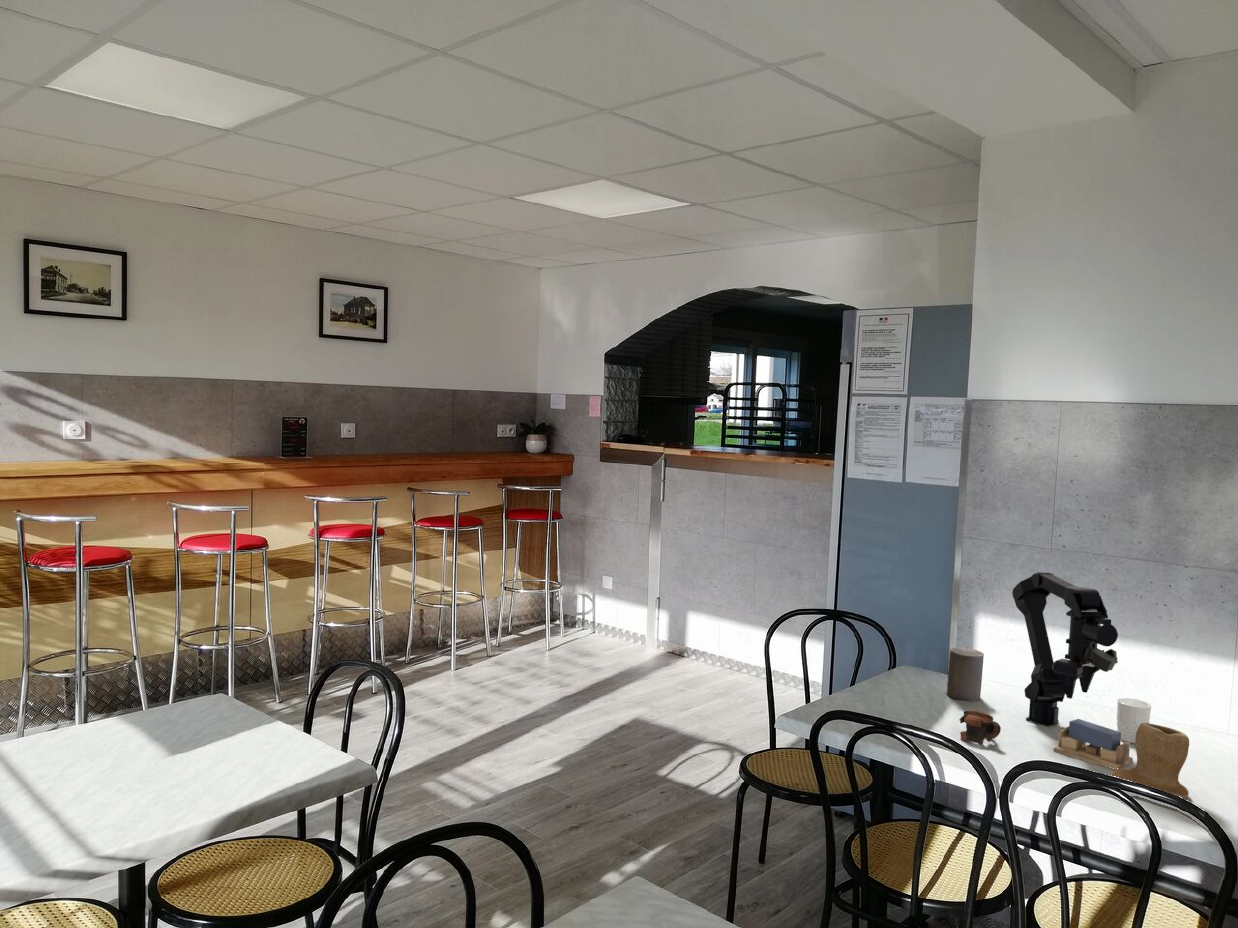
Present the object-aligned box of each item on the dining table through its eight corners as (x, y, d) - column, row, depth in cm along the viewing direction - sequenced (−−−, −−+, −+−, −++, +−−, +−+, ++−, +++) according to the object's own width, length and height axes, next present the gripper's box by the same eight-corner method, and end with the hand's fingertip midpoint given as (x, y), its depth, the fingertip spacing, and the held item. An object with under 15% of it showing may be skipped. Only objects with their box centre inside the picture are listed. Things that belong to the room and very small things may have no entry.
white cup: (1153, 746, 241) (1156, 708, 240) (1120, 742, 242) (1123, 705, 241) (1142, 736, 248) (1145, 699, 248) (1110, 732, 250) (1113, 696, 249)
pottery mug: (948, 738, 241) (953, 707, 245) (971, 750, 245) (975, 719, 249) (988, 741, 232) (993, 709, 235) (1011, 753, 236) (1015, 721, 239)
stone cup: (1190, 790, 212) (1195, 726, 211) (1185, 807, 202) (1191, 740, 201) (1116, 773, 221) (1121, 711, 220) (1108, 788, 211) (1113, 724, 210)
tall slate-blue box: (1068, 736, 235) (1069, 721, 235) (1077, 734, 237) (1078, 718, 237) (1111, 750, 226) (1112, 734, 225) (1120, 748, 228) (1121, 732, 228)
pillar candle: (941, 695, 277) (945, 646, 276) (953, 688, 285) (957, 641, 284) (973, 703, 271) (977, 653, 270) (985, 696, 279) (989, 647, 277)
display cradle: (1116, 769, 223) (1117, 749, 222) (1053, 750, 234) (1055, 731, 234) (1132, 760, 229) (1134, 741, 229) (1070, 742, 240) (1072, 724, 240)
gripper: (1098, 648, 229) (1094, 710, 230) (1128, 638, 241) (1124, 697, 242) (1053, 638, 237) (1049, 698, 238) (1084, 629, 250) (1080, 686, 250)
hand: (1077, 695), depth 242 cm, fingers open, 9 cm apart
